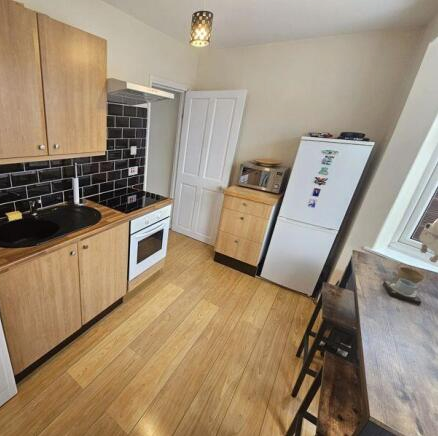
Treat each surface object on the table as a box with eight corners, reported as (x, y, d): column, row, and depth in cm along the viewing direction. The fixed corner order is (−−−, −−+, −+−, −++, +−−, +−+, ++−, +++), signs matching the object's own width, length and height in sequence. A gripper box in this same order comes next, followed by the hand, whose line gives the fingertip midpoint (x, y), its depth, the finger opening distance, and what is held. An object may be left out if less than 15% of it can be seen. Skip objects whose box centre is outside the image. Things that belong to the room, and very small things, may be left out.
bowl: (409, 288, 119) (414, 281, 117) (414, 296, 113) (420, 289, 111) (391, 283, 121) (396, 276, 120) (396, 291, 116) (401, 284, 114)
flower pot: (387, 275, 134) (394, 265, 131) (407, 278, 132) (414, 268, 129) (401, 286, 125) (408, 276, 122) (422, 290, 123) (430, 279, 120)
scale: (409, 292, 121) (412, 288, 119) (419, 305, 112) (422, 301, 111) (382, 284, 125) (385, 279, 124) (389, 296, 116) (392, 291, 115)
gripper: (468, 243, 96) (448, 270, 102) (442, 225, 113) (425, 249, 118) (447, 238, 99) (428, 265, 105) (424, 222, 115) (409, 245, 121)
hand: (427, 256), depth 112 cm, fingers open, 8 cm apart
